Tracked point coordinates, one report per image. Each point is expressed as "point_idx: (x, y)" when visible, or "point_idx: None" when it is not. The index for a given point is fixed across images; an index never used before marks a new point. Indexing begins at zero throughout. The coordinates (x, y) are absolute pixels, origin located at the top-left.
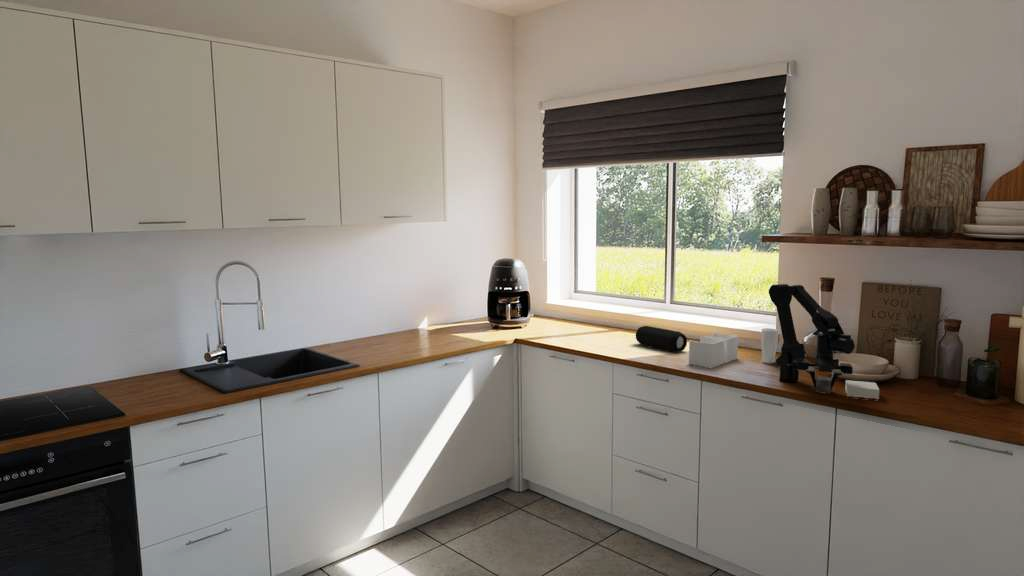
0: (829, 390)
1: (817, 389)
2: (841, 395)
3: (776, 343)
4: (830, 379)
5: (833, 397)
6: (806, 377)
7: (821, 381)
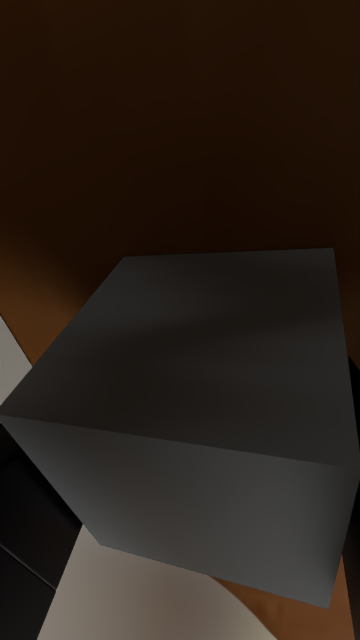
0: (116, 285)
1: (305, 279)
2: (8, 248)
3: None
4: (58, 489)
5: (26, 54)
6: (348, 602)
7: (208, 411)
